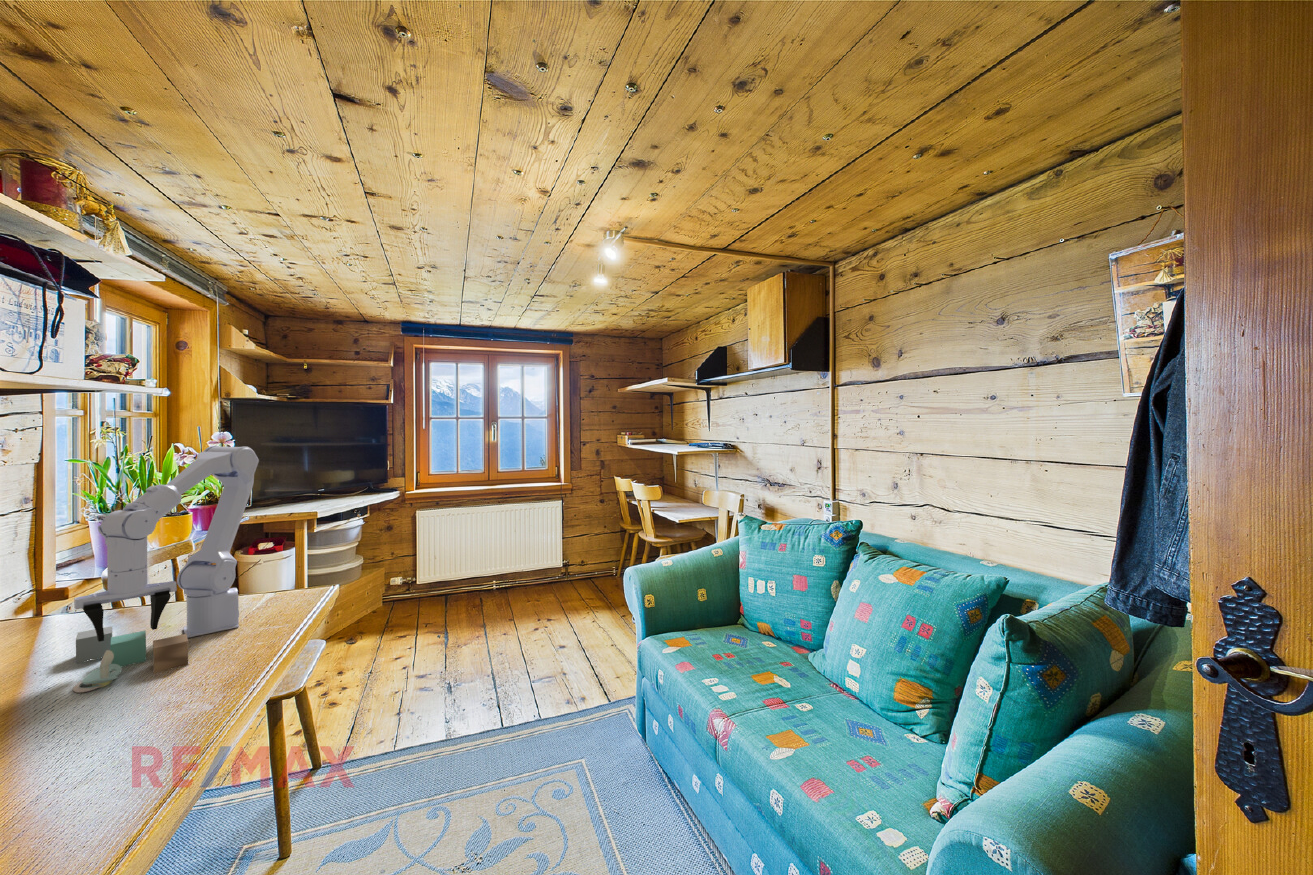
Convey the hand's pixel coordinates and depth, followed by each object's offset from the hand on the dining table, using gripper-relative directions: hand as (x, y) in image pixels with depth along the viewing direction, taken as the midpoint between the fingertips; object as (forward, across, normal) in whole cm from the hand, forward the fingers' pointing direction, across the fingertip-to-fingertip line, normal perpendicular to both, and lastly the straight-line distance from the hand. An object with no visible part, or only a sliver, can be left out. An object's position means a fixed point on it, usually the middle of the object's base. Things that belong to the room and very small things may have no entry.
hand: (128, 633), depth 105 cm
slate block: (+6, +4, -9) cm, 11 cm away
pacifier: (+6, +5, +9) cm, 12 cm away
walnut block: (+6, -5, +9) cm, 12 cm away
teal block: (+6, 0, 0) cm, 6 cm away
